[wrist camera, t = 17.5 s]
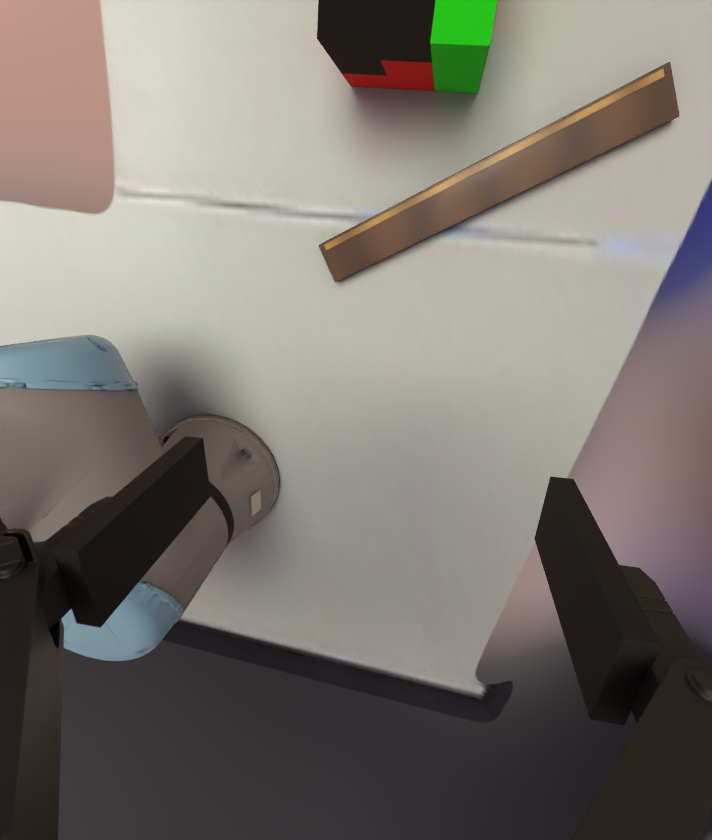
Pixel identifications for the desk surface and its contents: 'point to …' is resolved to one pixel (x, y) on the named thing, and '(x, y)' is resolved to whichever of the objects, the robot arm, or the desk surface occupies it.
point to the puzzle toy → (408, 42)
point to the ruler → (508, 172)
